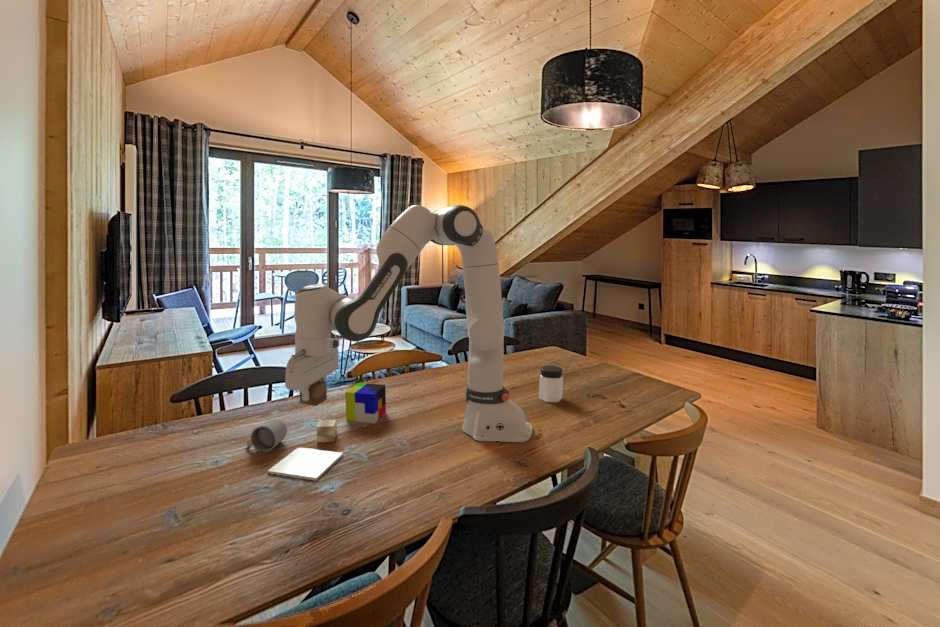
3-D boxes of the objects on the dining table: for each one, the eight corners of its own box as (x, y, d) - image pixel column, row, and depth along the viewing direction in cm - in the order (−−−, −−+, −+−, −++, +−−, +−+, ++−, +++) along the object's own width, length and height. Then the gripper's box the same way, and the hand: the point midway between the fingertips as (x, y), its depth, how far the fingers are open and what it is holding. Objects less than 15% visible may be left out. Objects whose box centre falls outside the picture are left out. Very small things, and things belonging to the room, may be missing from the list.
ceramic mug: (289, 440, 142) (287, 416, 141) (276, 452, 134) (274, 427, 133) (255, 439, 143) (253, 415, 142) (240, 451, 135) (238, 426, 134)
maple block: (336, 434, 147) (336, 419, 146) (334, 441, 142) (333, 426, 141) (320, 435, 146) (319, 420, 145) (317, 442, 141) (316, 426, 141)
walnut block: (326, 399, 130) (326, 382, 129) (316, 405, 125) (316, 387, 124) (310, 397, 131) (310, 379, 130) (299, 403, 126) (299, 385, 125)
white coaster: (343, 455, 133) (342, 452, 133) (316, 480, 120) (316, 477, 120) (298, 449, 136) (298, 447, 136) (267, 473, 123) (267, 470, 123)
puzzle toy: (374, 423, 156) (373, 394, 154) (346, 420, 158) (345, 392, 156) (385, 412, 165) (385, 384, 164) (359, 409, 167) (358, 382, 166)
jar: (543, 393, 187) (545, 364, 185) (564, 397, 183) (565, 367, 181) (536, 400, 179) (537, 369, 177) (557, 404, 175) (558, 373, 173)
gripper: (300, 356, 114) (301, 411, 117) (342, 339, 134) (342, 385, 136) (277, 354, 116) (279, 407, 118) (322, 336, 135) (322, 383, 138)
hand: (313, 395), depth 127 cm, fingers closed on walnut block, 5 cm apart
